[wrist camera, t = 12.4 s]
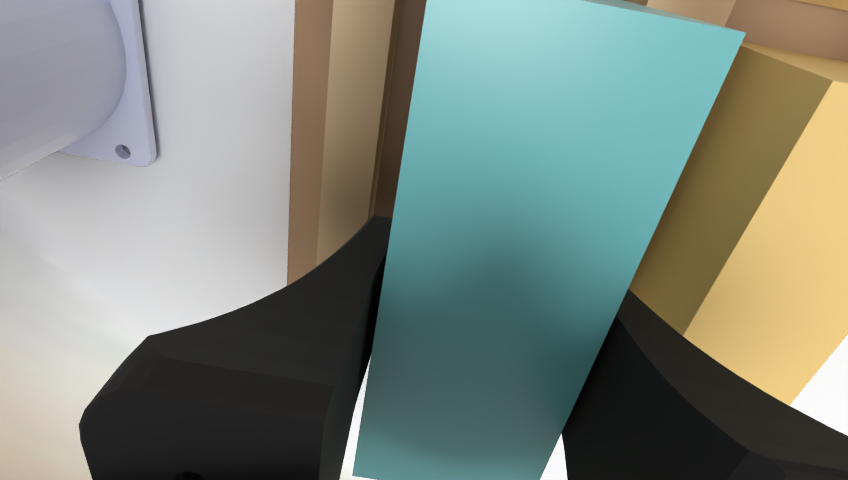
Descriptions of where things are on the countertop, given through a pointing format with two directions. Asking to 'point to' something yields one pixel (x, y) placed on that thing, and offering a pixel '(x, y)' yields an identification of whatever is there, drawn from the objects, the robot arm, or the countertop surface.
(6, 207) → the countertop surface
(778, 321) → the ochre plug block
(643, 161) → the teal plug block
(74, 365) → the countertop surface
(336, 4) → the comb board
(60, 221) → the countertop surface
